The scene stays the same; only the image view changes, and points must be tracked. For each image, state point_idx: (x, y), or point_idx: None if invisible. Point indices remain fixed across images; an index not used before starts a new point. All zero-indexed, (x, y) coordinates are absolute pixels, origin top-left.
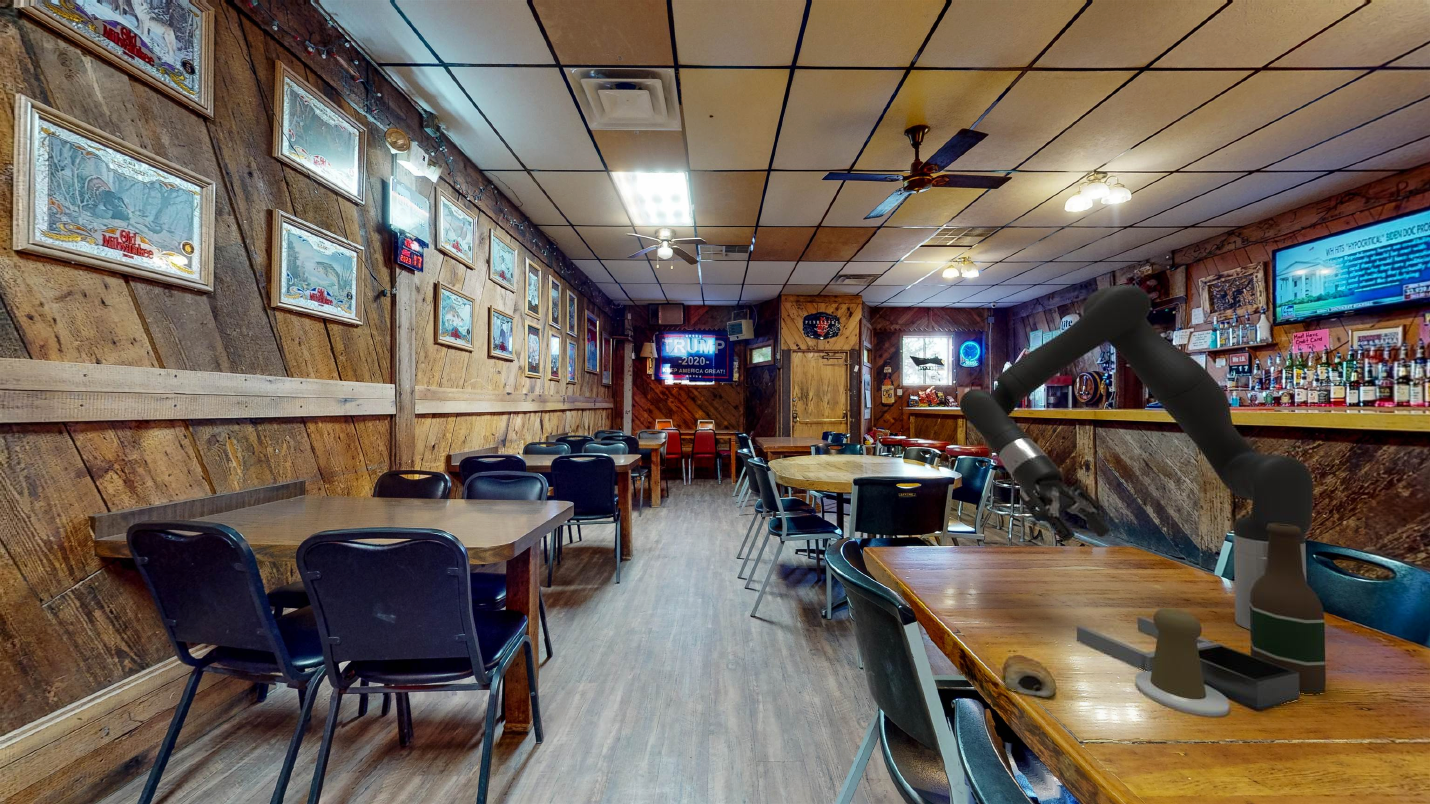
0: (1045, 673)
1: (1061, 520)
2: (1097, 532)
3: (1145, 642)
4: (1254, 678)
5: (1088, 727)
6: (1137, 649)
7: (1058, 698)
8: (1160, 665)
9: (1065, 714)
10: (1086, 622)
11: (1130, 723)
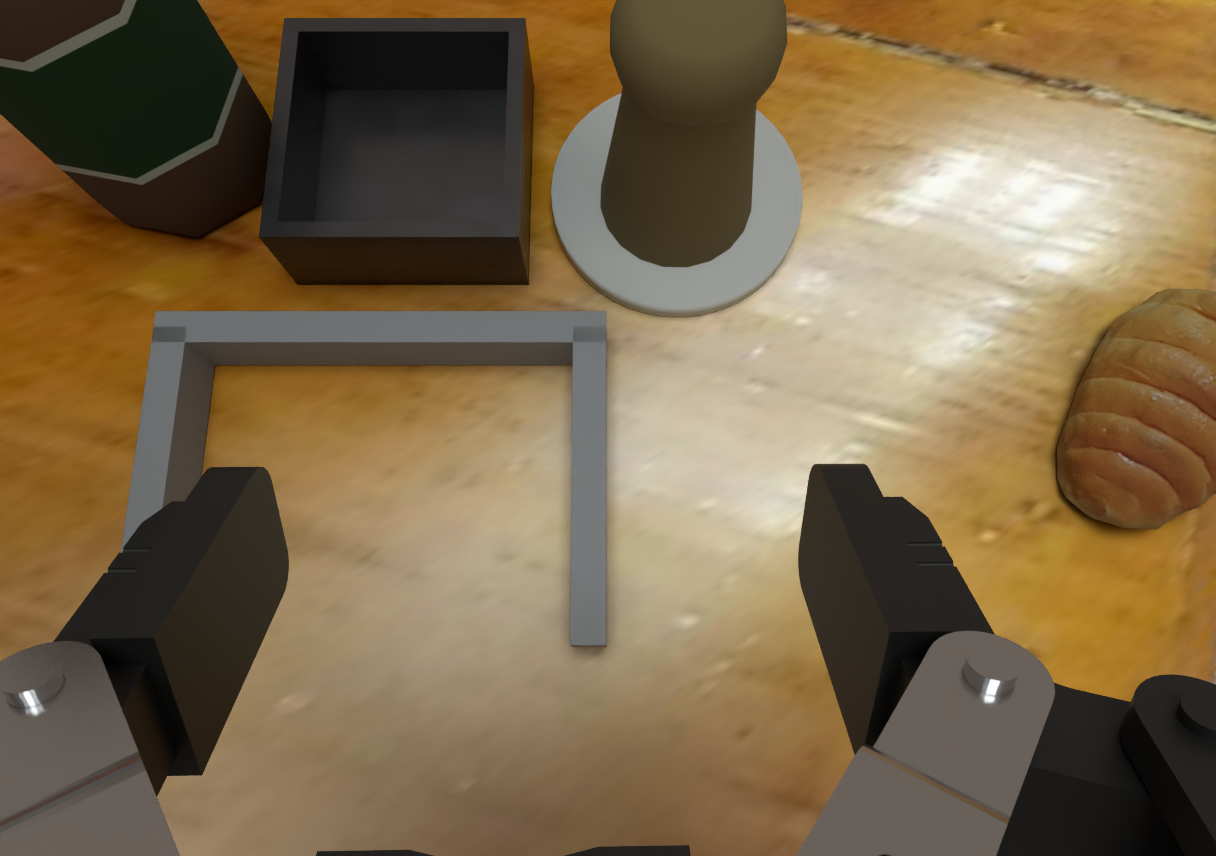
0: (1182, 318)
1: (921, 585)
2: (273, 592)
3: (300, 537)
4: (316, 168)
5: (1157, 167)
6: (576, 374)
7: (1120, 306)
8: (751, 166)
9: (1174, 233)
10: (324, 813)
11: (1004, 148)
